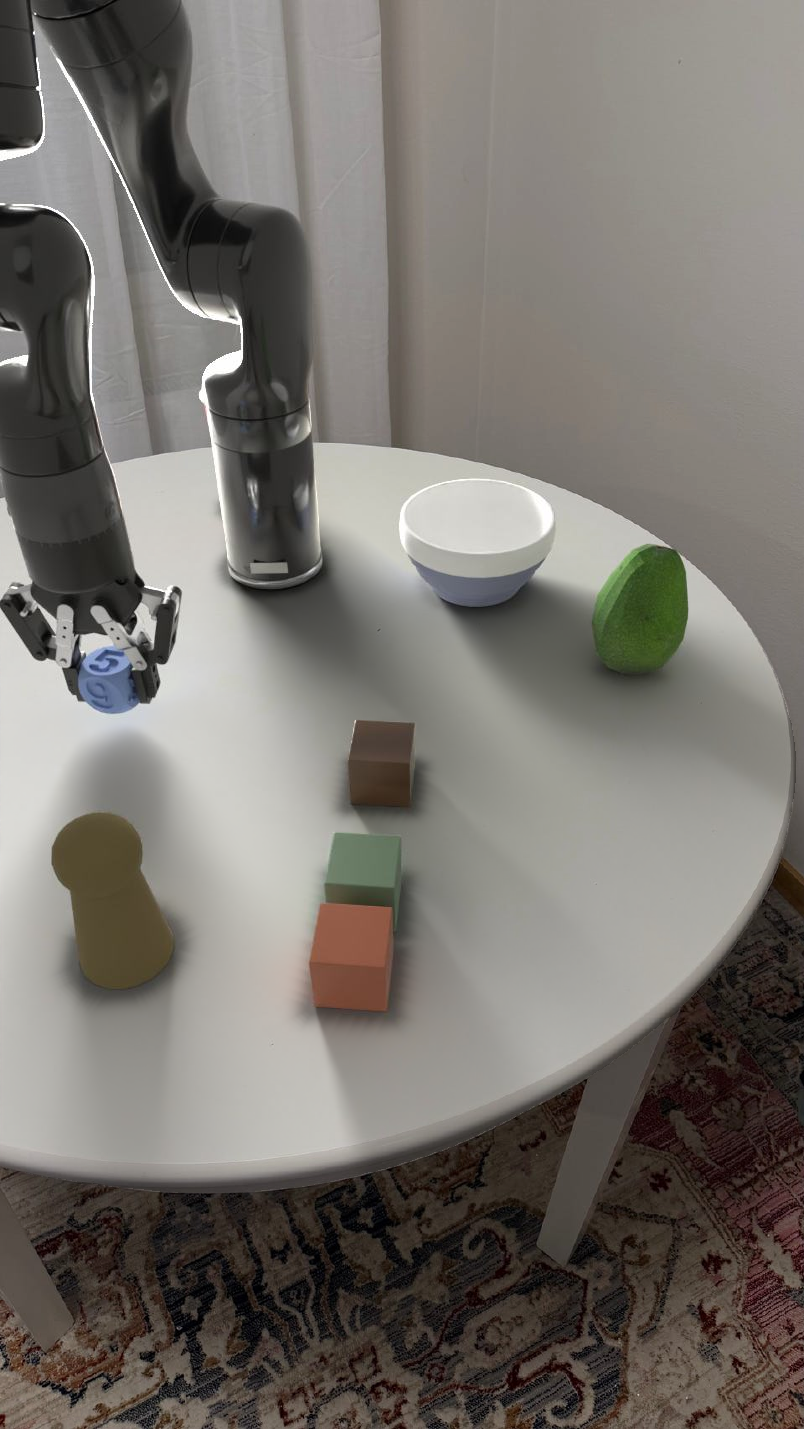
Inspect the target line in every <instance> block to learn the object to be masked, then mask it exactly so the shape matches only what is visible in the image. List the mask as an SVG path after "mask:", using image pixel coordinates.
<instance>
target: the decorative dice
mask: <svg viewBox="0 0 804 1429" xmlns="http://www.w3.org/2000/svg"><path fill="white" fill-rule="evenodd" d="M132 668H133V666H132V665H131V663H130V661H129V660H128V658H127V657H126V655H125V654H124V652H123V651H122V650H118V649H117V648H116V647H115V645H110V646H104V647H100V648H98V649H97V648H96V649H95V650H93V651H91V652H90V653H89V654H88V655H86V658H85V659H84V661H83V663H82V665H81V668H80V671H79V677H78V686H79V691H80V694H81V695H82V697H83V699H84V700H85V701H86V702H85V703H86V704H88V706H90V707H91V708H92V709H94V710H96V711H98V712H100V713H102V714H106V715H107V714H108V715H119V714H123V713H126V712H129V711H130V710H133V709H134V708H136V707H137V706H138V705H139V704H141V703H140V702H139V698H138V694H137V690H136V686H135V682H134V678H133V674H132Z"/></svg>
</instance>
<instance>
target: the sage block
mask: <svg viewBox="0 0 804 1429" xmlns="http://www.w3.org/2000/svg"><path fill="white" fill-rule="evenodd" d="M330 845H331V846H330V850H329V856H328V862H327V866H326V871H325V877H324V883H323V886H324V897H325V903H330V904H346V905H362V906H378V907H392V911H393V933H396V932H397V927H398V917H399V909H400V900H401V892H402V884H403V883H402V882H403V866H402V864H403V863H402V860H403V859H402V836H401V835H394V834H393V835H392V834H373V833H360V832H359V833H358V832H343V831H342V832H341V831H340V832H339V831H334V832H333V835H332V840H331V844H330Z"/></svg>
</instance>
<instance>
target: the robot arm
mask: <svg viewBox="0 0 804 1429" xmlns="http://www.w3.org/2000/svg"><path fill="white" fill-rule="evenodd" d="M34 22H35V24H36V26H37V28H38V30H39V31H40V34H41V35H42V37H43V38H44V40H45V42H46V44H47V46H48V48H49V49H50V51H51V53H52V55H53V56H54V58H55V60H56V61H57V63H58V64H59V66H60V68H61V70H62V71H63V73H64V75H65V77H66V78H67V80H68V82H69V83H70V85H71V87H72V88H73V90H74V92H75V94H76V95H77V97H78V99H79V101H80V103H81V104H82V106H83V108H84V110H85V112H86V114H87V116H88V118H89V120H90V121H91V123H92V126H93V127H94V128H95V131H96V133H97V136H98V137H99V138H100V141H101V143H102V145H103V146H104V148H105V150H106V152H107V154H108V156H109V158H110V160H111V161H112V163H113V165H114V167H115V169H116V172H117V173H118V174H119V177H120V179H121V181H122V184H123V186H124V187H125V189H126V192H127V194H128V197H129V199H130V201H131V203H132V204H133V208H134V210H135V212H136V214H137V217H138V219H139V222H140V224H141V226H142V229H143V231H144V233H145V236H146V238H147V240H148V243H149V245H150V247H151V250H152V252H153V254H154V257H155V259H156V261H157V264H158V266H159V269H160V270H161V272H162V274H163V276H164V279H165V281H166V282H167V284H168V286H169V288H170V290H171V291H172V293H173V294H174V296H175V297H176V298H177V300H178V301H179V302H180V303H181V304H182V306H184V307H185V308H186V309H188V310H189V311H191V312H192V313H194V314H197V315H199V316H200V317H203V318H207V319H212V320H216V321H217V320H218V321H222V322H227V323H232V324H236V325H240V333H241V350H239V351H236V352H232V353H229V354H226V355H224V356H222V357H220V358H218V359H216V360H215V361H213V362H212V363H210V364H209V365H208V366H207V367H206V369H205V371H204V373H203V376H202V384H203V387H204V395H205V401H206V408H207V415H208V420H207V423H208V422H209V425H208V430H209V429H210V430H209V435H210V440H211V448H212V454H213V463H214V469H215V475H216V483H217V491H218V496H219V503H220V511H221V512H220V513H221V518H222V526H223V533H224V540H225V548H226V555H227V558H226V560H227V562H226V563H227V568H228V572H229V574H230V577H232V579H234V580H235V581H237V582H238V583H240V584H242V585H244V586H246V587H251V588H254V589H262V590H279V589H286V588H291V587H295V586H297V585H300V584H303V583H305V582H307V581H309V580H311V579H312V578H314V577H315V576H316V575H317V574H318V573H319V572H320V570H321V568H322V566H323V551H322V548H321V536H320V535H321V534H320V521H319V505H318V493H317V492H318V491H317V481H316V480H317V479H316V466H315V453H314V451H315V450H314V438H313V437H314V436H313V428H312V426H313V425H312V416H311V415H312V414H311V400H310V385H309V384H310V375H311V370H312V364H313V357H314V334H313V278H312V276H313V274H312V260H311V251H310V247H309V241H308V239H307V236H306V233H305V229H304V227H303V225H302V224H301V222H300V220H299V219H298V217H297V216H296V215H295V214H294V213H293V212H291V211H290V210H288V209H285V208H283V207H279V206H275V205H270V204H269V205H268V204H262V203H257V202H256V203H255V202H250V201H241V200H236V199H229V198H223V197H222V196H221V195H220V194H218V192H217V191H216V190H215V188H214V187H213V185H212V183H211V182H210V180H209V179H208V177H207V175H206V172H205V171H204V169H203V168H202V166H201V163H200V161H199V159H198V158H199V157H198V156H197V153H196V151H195V149H194V146H193V144H192V141H191V136H190V133H189V129H188V108H189V107H188V106H189V98H190V93H191V92H190V90H191V83H192V82H191V81H192V72H193V56H194V55H193V54H194V51H193V50H194V48H193V47H194V46H193V34H192V33H193V32H192V28H191V23H190V22H191V21H190V18H189V14H188V11H187V7H186V5H185V2H184V0H0V162H1V161H3V160H7V159H12V158H16V157H20V156H24V155H27V154H30V153H33V152H34V151H36V150H38V148H39V147H40V146H41V144H42V143H43V140H44V138H45V137H44V136H45V115H44V114H45V113H44V104H43V96H42V92H41V91H40V90H41V87H42V86H41V79H40V71H39V70H40V69H39V62H38V53H37V52H38V51H37V44H36V35H35V28H34ZM94 296H95V275H94V266H93V261H92V257H91V254H90V252H89V248H88V246H87V245H86V242H85V240H84V239H83V237H82V235H81V233H80V232H79V230H78V229H77V228H76V227H75V226H74V224H73V223H72V222H71V221H70V219H68V218H67V217H66V216H65V215H64V214H63V213H61V212H59V211H58V210H55V209H53V208H51V207H48V206H43V205H34V204H11V203H0V332H13V333H23V336H24V338H25V342H26V347H27V355H22V356H19V357H14V358H11V359H7V360H4V361H2V362H0V481H1V486H2V492H3V496H4V501H5V503H6V510H7V514H8V516H9V517H10V519H11V522H12V526H13V529H14V533H15V535H16V538H17V542H18V545H19V548H20V552H21V555H22V557H23V561H24V564H25V567H26V570H27V573H28V576H29V578H30V580H31V583H30V584H26V585H25V584H23V583H22V582H19V581H13V582H11V584H10V585H9V587H8V588H7V589H6V590H5V592H4V594H3V595H2V597H1V598H0V610H1V612H2V613H3V614H4V616H5V618H6V619H7V620H8V622H9V623H10V625H11V626H12V628H13V629H14V631H15V632H16V634H17V635H18V637H19V638H20V640H21V641H22V643H23V644H24V646H25V647H26V649H27V651H28V652H29V654H30V655H31V657H33V659H35V660H36V661H39V662H44V661H47V659H49V660H51V661H54V662H55V663H56V665H57V666H58V667H60V668H61V670H62V673H63V676H64V679H65V682H66V686H67V689H68V691H69V693H70V694H71V695H72V696H76V700H77V702H78V703H79V702H80V703H82V702H83V703H87V702H86V701H85V700H84V699H83V697H82V695H81V694H80V691H79V686H78V677H79V671H80V668H81V665H82V663H83V661H84V659H85V658H86V657H87V654H86V651H81V649H80V648H81V647H82V646H81V645H82V638H83V636H87V635H90V634H98V635H101V636H106V637H107V636H108V638H109V639H110V641H111V642H112V644H113V646H115V647H116V648H117V649H118V650H122V651H123V652H124V654H125V655H126V657H127V658H128V660H129V661H130V663H131V665H132V666H133V668H132V674H133V678H134V682H135V686H136V690H137V694H138V698H139V702H140V703H139V704H141V705H150V704H151V702H152V700H153V699H155V698H156V696H157V693H158V691H159V689H160V686H161V678H160V674H159V669H158V665H163V666H164V665H167V663H169V662H168V661H169V660H170V658H171V657H170V656H171V654H172V652H173V649H174V647H175V644H176V642H177V641H176V640H177V634H178V626H179V619H180V611H181V605H182V596H183V591H182V589H181V588H180V587H178V586H177V585H169V586H168V587H167V588H166V589H165V590H162V589H158V588H154V587H150V586H146V583H145V580H143V578H142V577H141V576H140V575H139V574H138V572H137V570H136V566H135V559H134V554H133V548H132V545H131V540H130V536H129V531H128V528H127V524H126V523H127V522H126V519H125V514H124V509H123V506H122V502H121V497H120V493H119V489H118V484H117V480H116V476H115V473H114V469H113V466H112V464H111V461H110V459H109V457H108V454H107V451H106V447H105V444H104V440H103V437H102V433H101V432H102V431H101V428H100V424H99V420H98V415H97V412H96V407H95V401H94V397H93V393H92V328H93V327H92V325H93V324H92V323H93V310H94ZM207 415H206V416H207ZM141 604H144V605H145V606H146V607H147V609H148V613H149V615H150V618H151V620H152V621H155V622H156V623H155V629H154V630H155V631H154V639H153V640H152V638H151V637H150V634H149V633H148V632H147V631H146V629H145V622H144V619H143V617H142V615H141V614H140V612H139V611H138V608H139V607H140V605H141ZM39 607H41V608H42V609H44V610H45V612H47V613H48V614H49V615H50V616H52V618H54V619H55V620H56V629H55V631H54V629H53V628H52V626H51V624H50V623H49V622H48V620H47V618H46V617H45V615H44V614H43V612H42V610H41V609H40V608H39Z"/></svg>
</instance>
